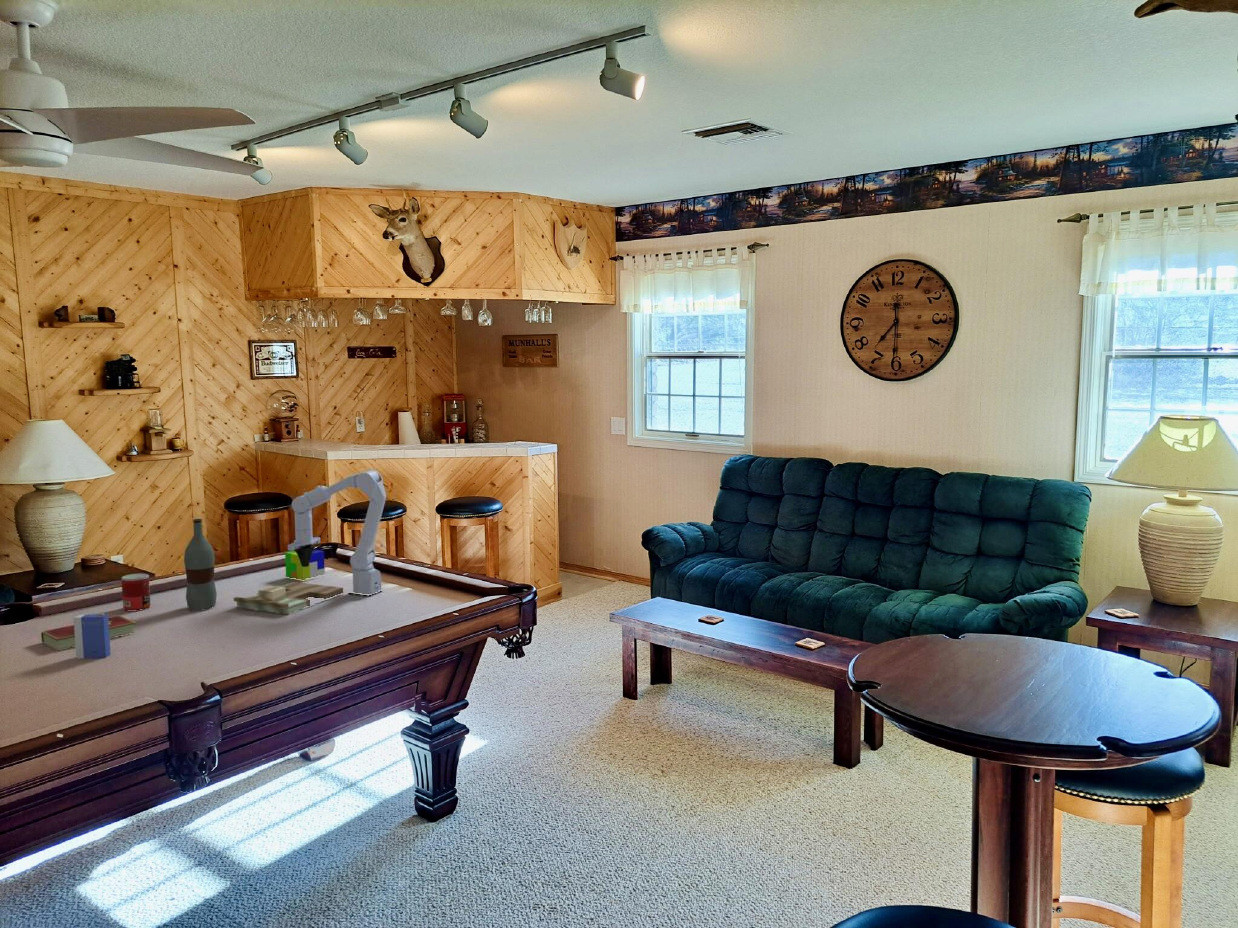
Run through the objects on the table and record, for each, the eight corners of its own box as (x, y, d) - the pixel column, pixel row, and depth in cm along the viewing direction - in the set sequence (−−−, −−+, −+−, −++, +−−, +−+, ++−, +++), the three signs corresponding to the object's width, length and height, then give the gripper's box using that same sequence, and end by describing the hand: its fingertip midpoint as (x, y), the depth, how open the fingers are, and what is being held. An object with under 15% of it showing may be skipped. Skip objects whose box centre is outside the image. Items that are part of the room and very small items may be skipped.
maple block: (285, 599, 286) (285, 587, 286) (272, 603, 281) (272, 591, 280) (271, 597, 289) (271, 585, 288) (258, 601, 283) (258, 590, 283)
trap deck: (343, 594, 302) (342, 584, 301) (286, 615, 276) (285, 604, 276) (294, 588, 310) (293, 578, 309) (234, 608, 284) (233, 597, 283)
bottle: (222, 603, 289) (218, 517, 286) (207, 611, 280) (202, 522, 277) (196, 603, 290) (192, 516, 287) (180, 610, 281) (175, 521, 278)
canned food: (148, 610, 281) (147, 577, 280) (121, 612, 278) (119, 579, 277) (152, 604, 288) (150, 572, 287) (125, 606, 286) (123, 574, 284)
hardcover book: (41, 644, 248) (40, 630, 247) (119, 627, 264) (118, 614, 264) (57, 652, 240) (56, 638, 240) (136, 634, 257) (135, 621, 256)
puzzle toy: (324, 576, 328) (323, 551, 327) (302, 581, 320) (302, 555, 319) (307, 573, 333) (307, 548, 332) (286, 578, 325) (285, 552, 324)
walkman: (110, 654, 238) (108, 612, 237) (105, 657, 235) (103, 615, 234) (81, 655, 237) (78, 613, 236) (75, 658, 235) (72, 616, 233)
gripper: (308, 524, 311) (310, 561, 312) (280, 531, 297) (281, 569, 299) (324, 526, 308) (325, 562, 310) (296, 533, 295) (297, 571, 296)
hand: (305, 566), depth 304 cm, fingers closed
